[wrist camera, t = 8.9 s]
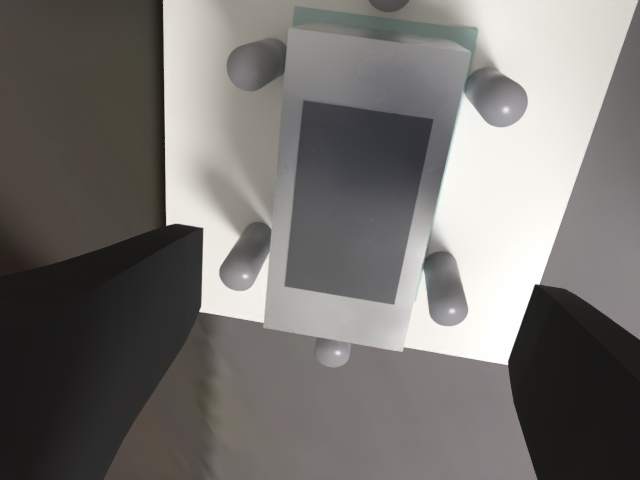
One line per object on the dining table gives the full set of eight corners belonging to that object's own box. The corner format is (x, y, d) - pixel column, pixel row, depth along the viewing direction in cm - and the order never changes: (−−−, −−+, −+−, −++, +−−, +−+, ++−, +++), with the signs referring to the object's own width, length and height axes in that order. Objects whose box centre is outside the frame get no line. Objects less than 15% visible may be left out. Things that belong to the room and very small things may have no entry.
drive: (448, 38, 16) (471, 52, 11) (399, 268, 19) (402, 352, 14) (317, 21, 16) (287, 28, 11) (293, 251, 19) (262, 328, 15)
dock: (635, -33, 15) (711, -45, 11) (505, 349, 21) (529, 421, 17) (175, -89, 16) (111, -116, 12) (176, 293, 22) (134, 350, 18)
